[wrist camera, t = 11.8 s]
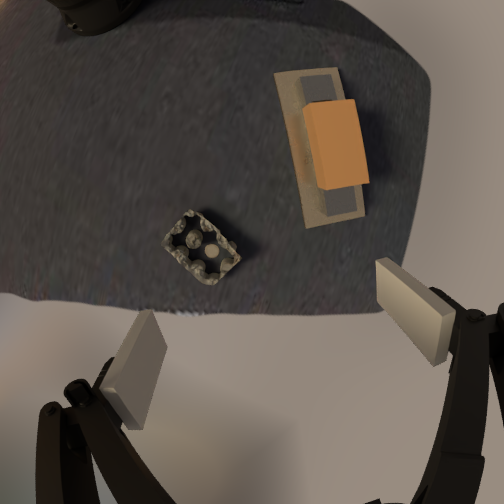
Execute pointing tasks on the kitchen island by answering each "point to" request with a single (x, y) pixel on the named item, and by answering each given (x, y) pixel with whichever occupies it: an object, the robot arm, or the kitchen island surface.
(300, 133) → the beige grey stepped block
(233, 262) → the egg carton
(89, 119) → the kitchen island surface
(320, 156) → the orange toy brick
